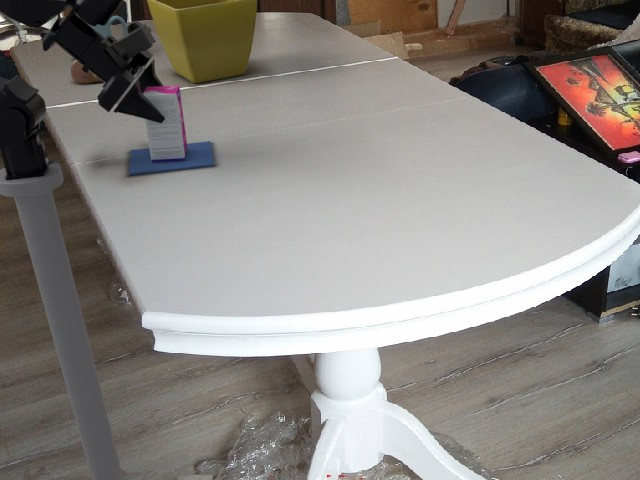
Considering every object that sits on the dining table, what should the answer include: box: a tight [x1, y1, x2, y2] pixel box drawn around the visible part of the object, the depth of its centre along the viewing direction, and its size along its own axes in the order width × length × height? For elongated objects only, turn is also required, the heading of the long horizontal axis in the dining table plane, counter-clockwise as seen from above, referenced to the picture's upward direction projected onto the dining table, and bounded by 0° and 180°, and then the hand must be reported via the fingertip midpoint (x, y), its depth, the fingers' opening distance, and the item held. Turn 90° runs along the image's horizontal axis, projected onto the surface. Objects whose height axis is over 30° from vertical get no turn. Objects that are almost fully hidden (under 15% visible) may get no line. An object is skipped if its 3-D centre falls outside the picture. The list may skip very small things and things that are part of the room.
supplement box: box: [143, 85, 188, 163], centre depth 137 cm, size 6×6×12 cm
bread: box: [70, 59, 103, 85], centre depth 189 cm, size 11×11×5 cm
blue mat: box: [128, 140, 215, 177], centre depth 141 cm, size 14×12×1 cm
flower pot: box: [146, 0, 258, 84], centre depth 184 cm, size 19×19×17 cm
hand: (168, 112), depth 136 cm, fingers open, 9 cm apart
